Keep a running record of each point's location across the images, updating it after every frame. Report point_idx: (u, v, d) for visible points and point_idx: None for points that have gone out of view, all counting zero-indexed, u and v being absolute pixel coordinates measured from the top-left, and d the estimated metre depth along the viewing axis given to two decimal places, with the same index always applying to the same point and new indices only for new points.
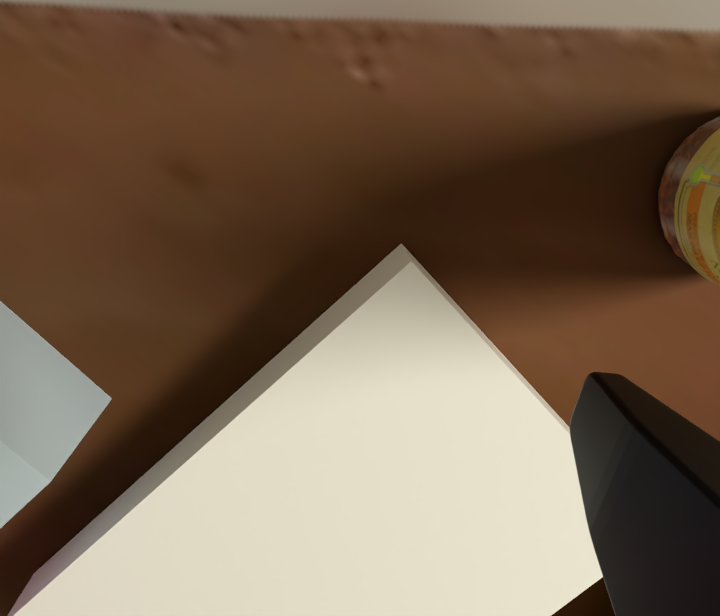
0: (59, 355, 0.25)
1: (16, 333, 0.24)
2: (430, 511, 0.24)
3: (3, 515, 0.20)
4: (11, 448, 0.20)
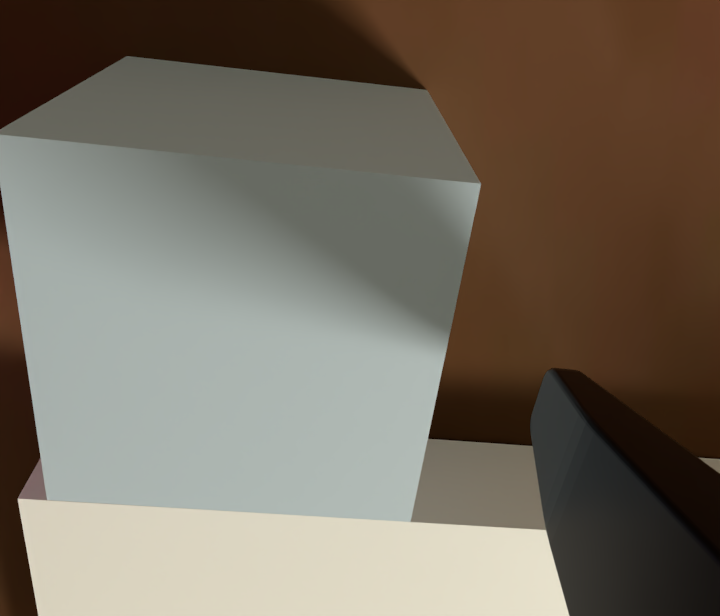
0: None
1: None
2: None
3: (301, 505, 0.11)
4: (423, 454, 0.11)
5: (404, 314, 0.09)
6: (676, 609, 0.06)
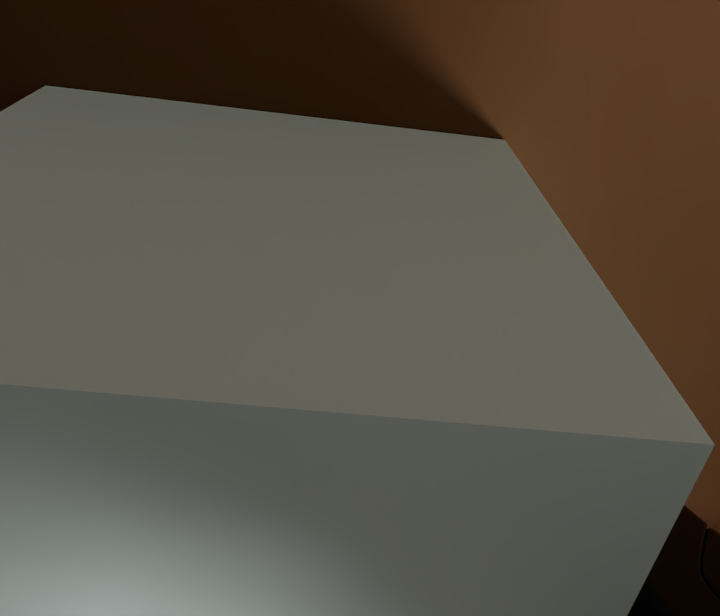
0: None
1: None
2: None
3: None
4: None
5: None
6: None
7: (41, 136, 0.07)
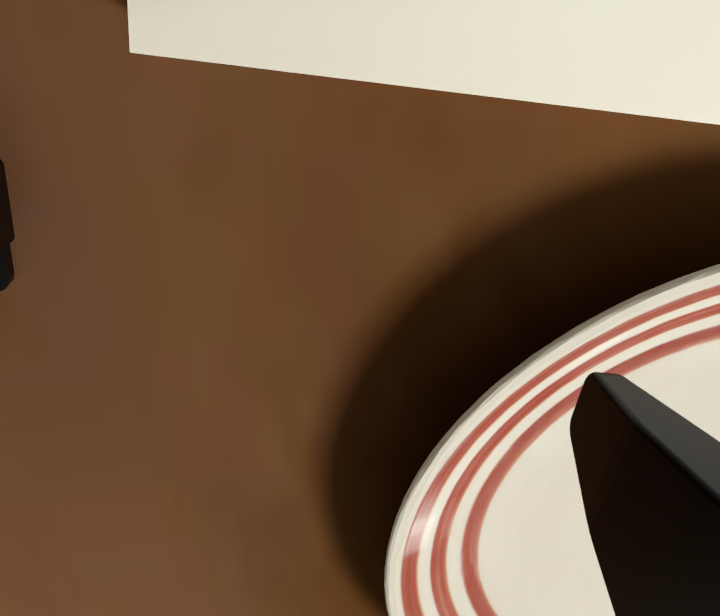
0: None
1: None
2: None
3: None
4: None
5: None
6: None
7: None
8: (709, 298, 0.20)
